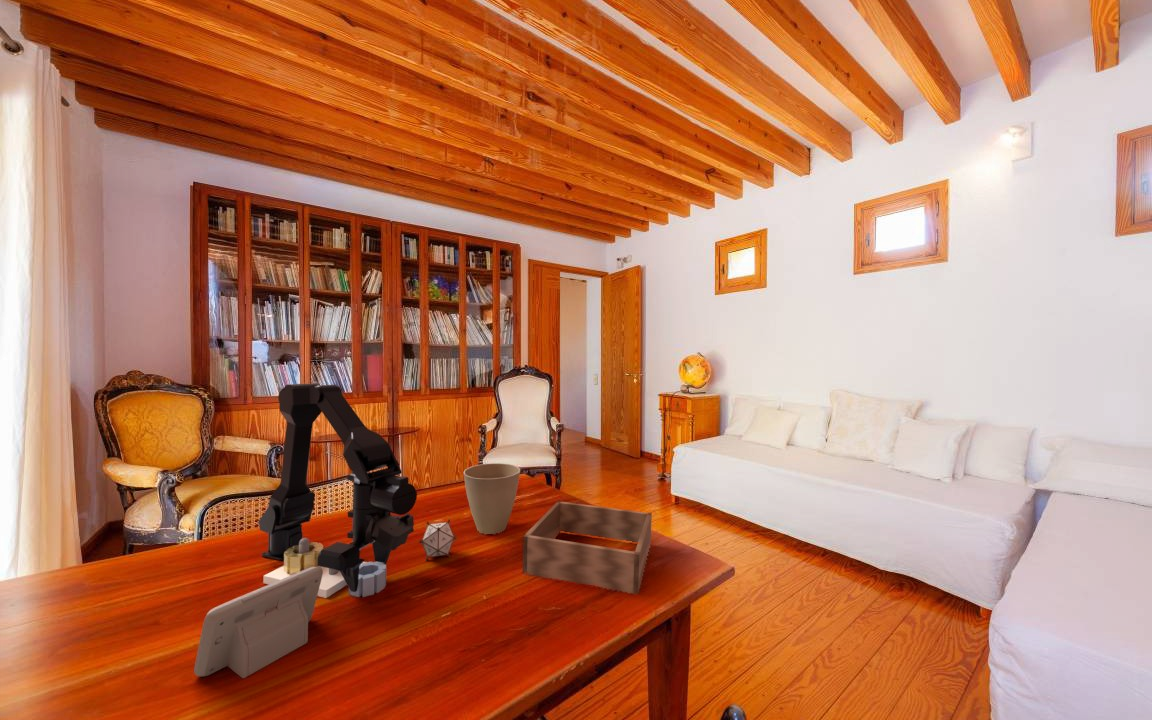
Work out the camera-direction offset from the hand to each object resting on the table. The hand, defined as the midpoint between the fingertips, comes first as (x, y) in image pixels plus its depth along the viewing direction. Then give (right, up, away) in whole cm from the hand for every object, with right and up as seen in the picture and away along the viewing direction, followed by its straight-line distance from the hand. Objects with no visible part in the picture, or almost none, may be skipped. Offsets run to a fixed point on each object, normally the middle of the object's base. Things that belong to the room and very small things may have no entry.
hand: (367, 582), depth 84 cm
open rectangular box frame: (+45, -4, +14) cm, 48 cm away
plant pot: (+19, -1, +29) cm, 34 cm away
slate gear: (0, -1, 0) cm, 1 cm away
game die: (+10, -1, +13) cm, 16 cm away
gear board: (-12, -1, +4) cm, 13 cm away
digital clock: (-7, -1, -18) cm, 19 cm away
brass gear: (-16, +1, +5) cm, 17 cm away
